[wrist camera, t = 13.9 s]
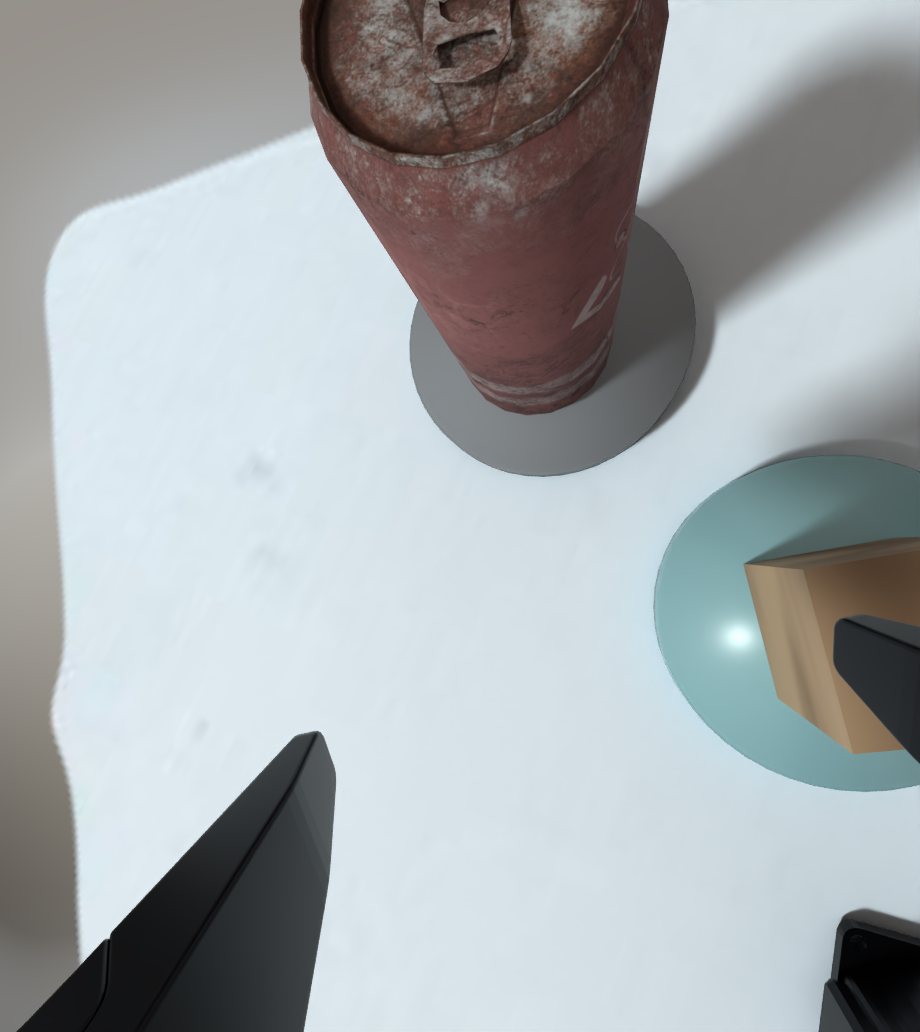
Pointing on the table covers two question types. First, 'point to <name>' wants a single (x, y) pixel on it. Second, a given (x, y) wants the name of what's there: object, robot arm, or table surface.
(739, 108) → the table surface
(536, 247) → the can
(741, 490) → the teal mat
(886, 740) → the walnut block
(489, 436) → the charcoal mat
